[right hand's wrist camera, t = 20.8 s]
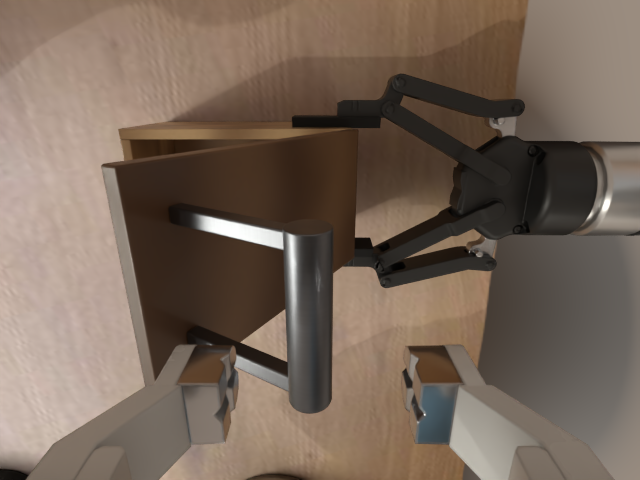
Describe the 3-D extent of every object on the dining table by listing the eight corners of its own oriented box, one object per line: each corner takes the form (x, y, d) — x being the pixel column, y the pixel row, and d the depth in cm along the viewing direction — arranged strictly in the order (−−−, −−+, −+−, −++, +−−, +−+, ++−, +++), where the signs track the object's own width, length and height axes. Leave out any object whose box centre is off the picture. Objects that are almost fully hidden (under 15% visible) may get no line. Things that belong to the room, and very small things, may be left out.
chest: (180, 220, 39) (140, 253, 31) (166, 121, 36) (117, 128, 27) (343, 220, 39) (349, 254, 31) (345, 121, 36) (352, 128, 27)
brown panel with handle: (145, 394, 16) (296, 485, 12) (99, 163, 13) (286, 191, 9) (344, 255, 30) (442, 277, 26) (347, 129, 27) (460, 133, 23)
